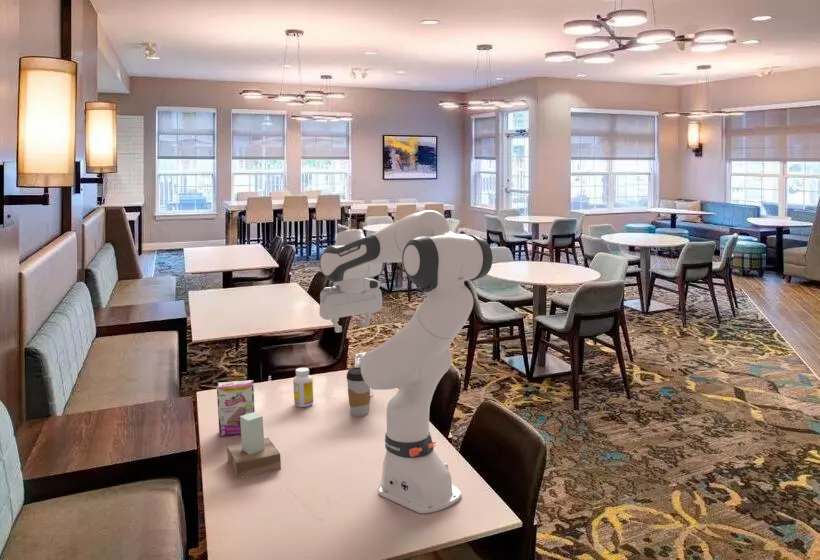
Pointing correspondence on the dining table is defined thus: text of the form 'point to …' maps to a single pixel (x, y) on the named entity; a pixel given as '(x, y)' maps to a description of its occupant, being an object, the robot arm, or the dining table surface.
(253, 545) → the dining table surface
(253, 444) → the sage pillar
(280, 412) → the dining table surface
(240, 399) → the candy bar box
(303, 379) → the supplement bottle
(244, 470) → the walnut block
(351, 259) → the robot arm
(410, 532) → the dining table surface
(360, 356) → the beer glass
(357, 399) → the coffee cup
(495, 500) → the dining table surface
